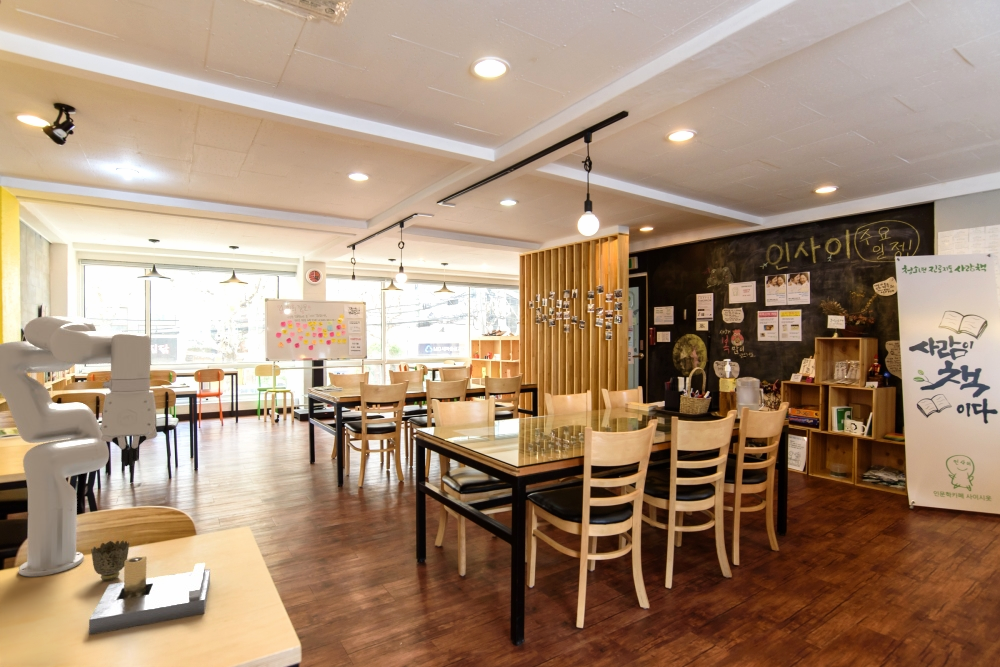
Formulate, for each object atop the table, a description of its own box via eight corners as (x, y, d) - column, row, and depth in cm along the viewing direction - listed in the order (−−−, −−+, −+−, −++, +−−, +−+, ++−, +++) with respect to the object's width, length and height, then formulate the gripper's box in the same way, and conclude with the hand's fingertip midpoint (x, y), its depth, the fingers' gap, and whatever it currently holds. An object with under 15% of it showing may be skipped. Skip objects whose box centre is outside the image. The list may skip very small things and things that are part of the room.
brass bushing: (125, 602, 117) (126, 557, 117) (147, 599, 119) (148, 554, 119) (121, 611, 114) (122, 564, 114) (144, 607, 115) (144, 561, 115)
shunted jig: (109, 597, 119) (109, 575, 119) (209, 581, 128) (210, 560, 128) (88, 634, 105) (89, 609, 105) (204, 613, 113) (204, 590, 113)
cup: (108, 587, 124) (109, 553, 124) (82, 584, 126) (83, 550, 126) (136, 573, 131) (136, 541, 131) (111, 570, 133) (112, 538, 133)
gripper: (86, 388, 117) (85, 471, 117) (165, 386, 123) (164, 465, 123) (95, 385, 124) (94, 464, 124) (170, 383, 130) (169, 458, 130)
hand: (129, 464), depth 123 cm, fingers closed
